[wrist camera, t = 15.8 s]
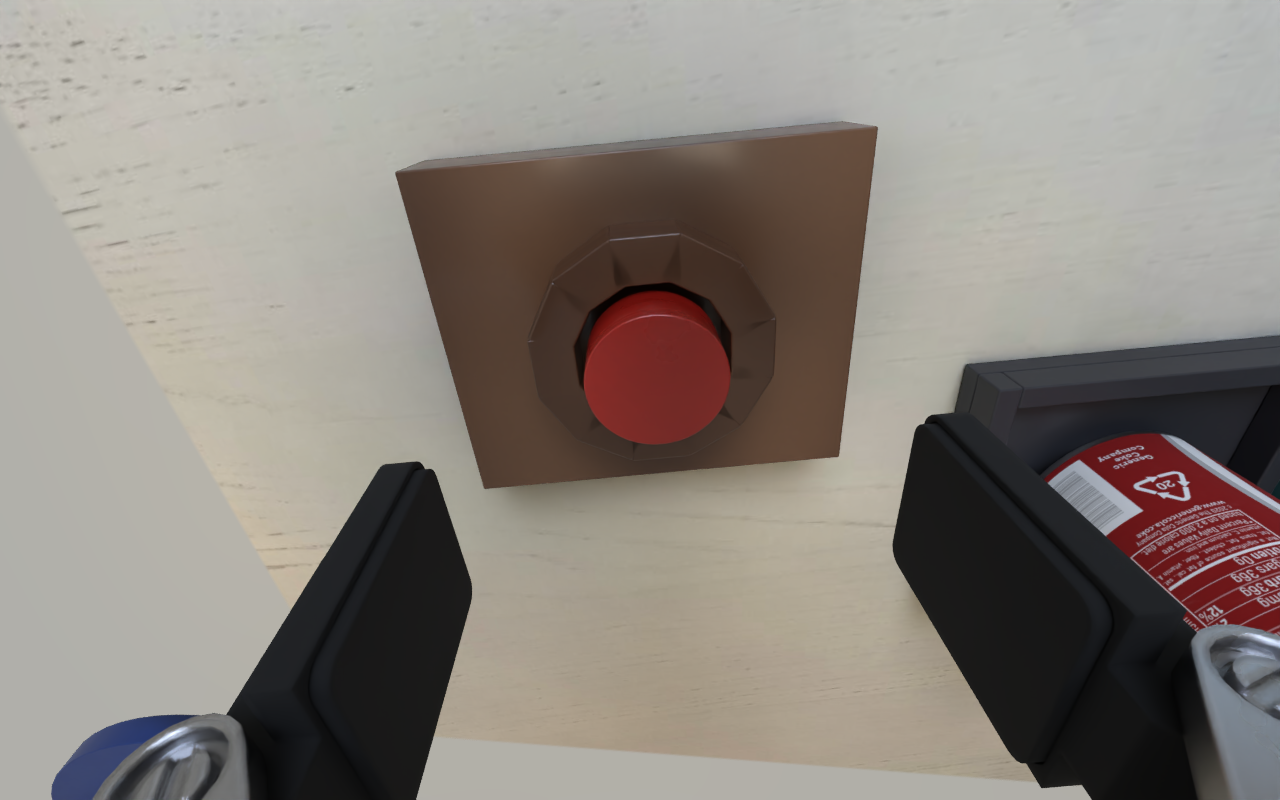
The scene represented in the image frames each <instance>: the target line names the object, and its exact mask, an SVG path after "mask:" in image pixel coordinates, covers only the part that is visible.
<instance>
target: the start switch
mask: <svg viewBox="0 0 1280 800" xmlns="http://www.w3.org/2000/svg"><path fill="white" fill-rule="evenodd" d="M877 130H878V127H876V126H870V125H863V124H857V123H850V122H843V121H842V122H831V123H820V124H810V125H799V126H789V127H778V128H767V129H757V130H746V131H735V132H725V133H714V134H703V135H693V136H682V137H671V138H661V139H650V140H640V141H629V142H618V143H608V144H597V145H586V146H576V147H565V148H554V149H544V150H533V151H522V152H512V153H501V154H491V155H480V156H469V157H459V158H448V159H437V160H427V161H423V162H420V163H417V164H415V165H412V166H409V167H407V168H404V169H401V170H399V171H397V172H396V173H395V174H396V178H397V181H398V185H399V188H400V192H401V195H402V199H403V202H404V206H405V210H406V213H407V217H408V220H409V224H410V227H411V231H412V234H413V238H414V241H415V245H416V249H417V252H418V256H419V259H420V263H421V266H422V270H423V273H424V277H425V280H426V284H427V288H428V291H429V295H430V298H431V302H432V305H433V309H434V312H435V316H436V319H437V323H438V327H439V330H440V334H441V337H442V341H443V344H444V348H445V351H446V355H447V358H448V362H449V366H450V369H451V373H452V376H453V380H454V383H455V387H456V390H457V394H458V397H459V401H460V405H461V408H462V412H463V415H464V419H465V422H466V426H467V429H468V433H469V436H470V440H471V444H472V447H473V451H474V454H475V458H476V461H477V465H478V468H479V472H480V475H481V479H482V482H483V486H484V489H489V488H500V487H511V486H522V485H533V484H544V483H555V482H566V481H577V480H588V479H599V478H610V477H621V476H632V475H643V474H654V473H665V472H676V471H687V470H698V469H709V468H720V467H731V466H742V465H753V464H764V463H775V462H786V461H797V460H808V459H819V458H830V457H838V456H839V450H840V442H841V433H842V425H843V417H844V408H845V400H846V391H847V383H848V374H849V366H850V358H851V349H852V341H853V332H854V324H855V316H856V307H857V299H858V290H859V282H860V274H861V265H862V257H863V248H864V240H865V231H866V223H867V215H868V206H869V198H870V189H871V181H872V173H873V164H874V156H875V147H876V139H877ZM644 291H667V292H671V293H675V294H678V295H681V296H683V297H685V298H687V299H689V300H691V301H693V302H694V303H695V304H697V305H698V306H699V307H700V308H701V309H702V310H703V311H705V313H706V314H707V315H708V316H709V318H710V319H711V321H712V323H713V325H714V327H715V329H716V331H717V334H718V336H719V338H720V341H721V343H722V346H723V348H724V350H725V353H726V355H727V358H728V361H729V366H730V374H731V379H730V387H729V392H728V395H727V398H726V401H725V403H724V405H723V406H722V408H721V410H720V411H719V413H718V414H717V416H716V417H715V418H714V419H713V420H712V421H711V422H710V423H709V424H708V425H707V426H706V427H704V428H703V429H702V430H700V431H699V432H697V433H696V434H694V435H692V436H690V437H688V438H685V439H683V440H680V441H676V442H672V443H667V444H642V443H637V442H633V441H630V440H627V439H624V438H622V437H620V436H618V435H616V434H615V433H613V432H611V431H610V430H609V429H607V428H606V427H605V426H604V425H603V424H602V423H601V422H600V421H599V420H598V419H597V417H596V416H595V415H594V414H593V412H592V410H591V408H590V406H589V404H588V402H587V399H586V395H585V391H584V371H585V361H586V352H587V344H588V339H589V336H590V333H591V330H592V328H593V326H594V325H595V323H596V321H597V320H598V318H599V317H600V316H601V315H602V313H603V312H604V311H605V310H606V309H607V308H609V307H610V306H611V305H612V304H614V303H615V302H617V301H619V300H620V299H622V298H624V297H627V296H629V295H632V294H635V293H639V292H644Z"/></svg>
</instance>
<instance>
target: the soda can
mask: <svg viewBox="0 0 1280 800" xmlns="http://www.w3.org/2000/svg"><path fill="white" fill-rule="evenodd" d="M1040 477H1041V478H1043V479H1044V480H1045V481H1046V482H1047V483H1048V484H1049V485H1050V486H1051V487H1052V488H1053V489H1055V490H1056V491H1057V492H1058V493H1059V494H1060V495H1061V496H1062V497H1063V498H1064V499H1066V500H1067V501H1068V502H1069V503H1070V504H1071V505H1072V506H1073V507H1074V508H1075V509H1077V510H1078V511H1079V512H1080V513H1081V514H1082V515H1083V516H1084V517H1085V518H1086V519H1088V520H1089V521H1090V522H1091V523H1092V524H1093V525H1094V526H1095V527H1096V528H1097V529H1099V530H1100V531H1101V532H1102V533H1103V534H1104V535H1105V536H1106V537H1107V538H1108V539H1109V540H1111V541H1112V542H1113V543H1114V544H1115V545H1116V546H1117V547H1118V548H1119V549H1120V550H1122V551H1123V552H1124V553H1125V554H1126V555H1127V556H1128V557H1129V558H1130V559H1131V560H1133V561H1134V562H1135V563H1136V564H1137V565H1138V566H1139V567H1140V568H1141V569H1142V570H1144V571H1145V572H1146V573H1147V574H1148V575H1149V576H1150V577H1151V578H1152V579H1153V580H1155V581H1156V582H1157V583H1158V584H1159V585H1160V586H1161V587H1162V588H1163V589H1164V590H1165V591H1167V592H1168V593H1169V594H1170V595H1171V596H1172V597H1173V598H1174V599H1175V600H1176V601H1178V602H1179V603H1180V604H1181V605H1182V606H1183V607H1184V608H1185V609H1186V610H1187V612H1186V614H1185V615H1184V617H1183V620H1184V621H1185V622H1186V623H1188V624H1189V625H1190V626H1191V627H1192V628H1193V629H1194V630H1195V631H1196V632H1198V631H1199V630H1201V629H1203V628H1206V627H1209V626H1212V625H1240V626H1245V627H1250V628H1255V629H1261V630H1264V631H1266V632H1269V633H1272V634H1275V635H1278V636H1280V500H1279V499H1277V498H1276V497H1274V496H1273V495H1271V494H1269V493H1268V492H1266V491H1265V490H1263V489H1261V488H1260V487H1258V486H1256V485H1255V484H1253V483H1252V482H1250V481H1248V480H1247V479H1245V478H1244V477H1242V476H1240V475H1239V474H1237V473H1235V472H1234V471H1232V470H1231V469H1229V468H1227V467H1226V466H1224V465H1223V464H1221V463H1219V462H1218V461H1216V460H1214V459H1213V458H1211V457H1210V456H1208V455H1206V454H1205V453H1203V452H1202V451H1200V450H1198V449H1197V448H1195V447H1193V446H1192V445H1190V444H1189V443H1187V442H1185V441H1184V440H1182V439H1180V438H1178V437H1176V436H1173V435H1170V434H1167V433H1163V432H1157V431H1130V432H1123V433H1118V434H1114V435H1110V436H1106V437H1103V438H1100V439H1097V440H1095V441H1092V442H1090V443H1087V444H1085V445H1083V446H1081V447H1079V448H1077V449H1075V450H1073V451H1072V452H1070V453H1068V454H1066V455H1065V456H1063V457H1062V458H1060V459H1059V460H1058V461H1056V462H1055V463H1054V464H1052V465H1051V466H1050V467H1049V468H1047V469H1046V470H1045V471H1044V472H1043V473H1042V474H1041V475H1040Z"/></svg>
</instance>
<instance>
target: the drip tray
mask: <svg viewBox="0 0 1280 800" xmlns="http://www.w3.org/2000/svg"><path fill="white" fill-rule="evenodd" d="M959 412H968V413H970V414H972V415H973V416H974V417H976V418H977V419H978V420H979V421H980V422H981V423H982V424H983V425H984V426H985V427H987V428H988V429H989V430H990V431H991V432H992V433H993V434H994V435H995V436H996V437H997V438H999V439H1000V440H1001V441H1002V442H1003V443H1004V444H1005V445H1006V446H1007V447H1008V448H1010V449H1011V450H1012V451H1013V452H1014V453H1015V454H1016V455H1017V456H1018V457H1019V458H1021V459H1022V460H1023V461H1024V462H1025V463H1026V464H1027V465H1028V466H1029V467H1030V468H1032V469H1033V470H1034V471H1035V472H1036V473H1037V474H1038V475H1039V476H1040V475H1041V474H1042V473H1043V472H1044V471H1045V470H1046V469H1047V468H1049V467H1050V466H1051V465H1052V464H1054V463H1055V462H1056V461H1058V460H1059V459H1060V458H1062V457H1063V456H1065V455H1066V454H1068V453H1070V452H1072V451H1073V450H1075V449H1077V448H1079V447H1081V446H1083V445H1085V444H1087V443H1090V442H1092V441H1095V440H1097V439H1100V438H1103V437H1106V436H1110V435H1114V434H1118V433H1123V432H1130V431H1157V432H1163V433H1167V434H1170V435H1173V436H1176V437H1178V438H1180V439H1182V440H1184V441H1185V442H1187V443H1189V444H1190V445H1192V446H1193V447H1195V448H1197V449H1198V450H1200V451H1202V452H1203V453H1205V454H1206V455H1208V456H1210V457H1211V458H1213V459H1214V460H1216V461H1218V462H1219V463H1221V464H1223V465H1224V466H1226V467H1227V468H1229V469H1231V470H1232V471H1234V472H1235V473H1237V474H1239V475H1240V476H1242V477H1244V478H1245V479H1247V480H1248V481H1250V482H1252V483H1253V484H1255V485H1256V486H1258V487H1260V488H1261V489H1263V490H1265V491H1266V492H1268V493H1269V494H1271V493H1272V492H1273V490H1274V488H1275V487H1276V485H1277V484H1278V482H1279V480H1280V336H1271V337H1260V338H1249V339H1238V340H1227V341H1216V342H1205V343H1194V344H1183V345H1172V346H1162V347H1151V348H1140V349H1129V350H1118V351H1107V352H1096V353H1085V354H1074V355H1063V356H1052V357H1041V358H1031V359H1020V360H1009V361H998V362H987V363H976V364H967V365H966V367H965V372H964V376H963V380H962V384H961V389H960V393H959V397H958V401H957V406H956V410H955V413H959Z"/></svg>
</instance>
